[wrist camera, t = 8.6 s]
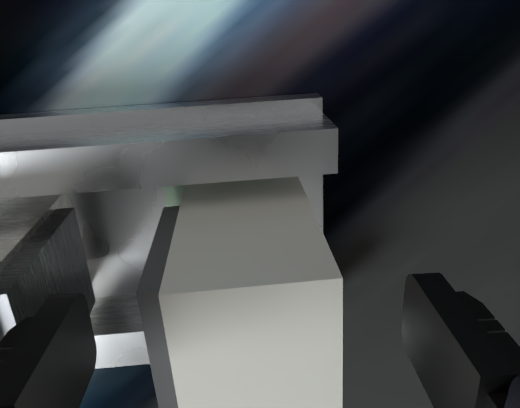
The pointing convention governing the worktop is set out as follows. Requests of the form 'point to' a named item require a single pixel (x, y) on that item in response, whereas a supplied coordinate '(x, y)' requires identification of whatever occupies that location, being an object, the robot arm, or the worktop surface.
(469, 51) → the worktop surface
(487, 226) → the worktop surface
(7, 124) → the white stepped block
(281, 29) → the worktop surface
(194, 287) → the block
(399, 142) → the worktop surface
